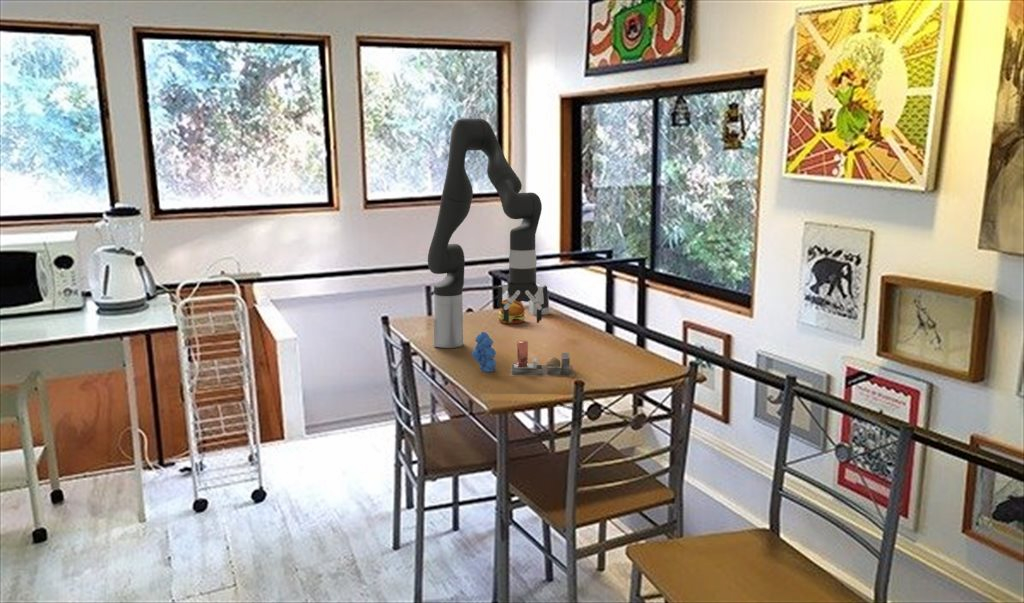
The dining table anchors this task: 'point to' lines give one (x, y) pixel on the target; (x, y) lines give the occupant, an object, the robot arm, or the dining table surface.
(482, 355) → the grapes
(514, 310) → the cheeseburger
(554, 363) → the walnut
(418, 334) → the dining table surface
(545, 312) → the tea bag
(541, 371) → the base
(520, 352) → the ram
